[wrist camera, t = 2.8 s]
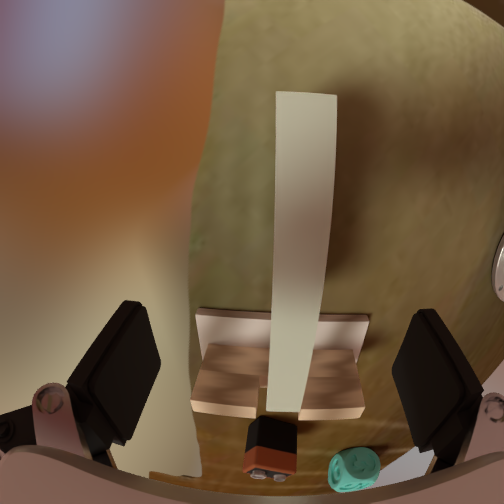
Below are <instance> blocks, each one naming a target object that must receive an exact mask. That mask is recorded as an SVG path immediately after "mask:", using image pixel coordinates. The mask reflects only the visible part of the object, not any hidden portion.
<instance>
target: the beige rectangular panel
mask: <svg viewBox="0 0 504 504" xmlns="http://www.w3.org/2000/svg"><path fill="white" fill-rule="evenodd" d="M336 133H337V95H330V94H319V93H305V92H280V91H276V173H275V223H274V258H273V287H272V312H271V334H270V354H269V372H268V389H267V405H266V411H279V412H300V409H301V405H302V401H303V396H304V392H305V387H306V382H307V378H308V373H309V368H310V363H311V358H312V353H313V347H314V342H315V336H316V331H317V325H318V319H319V313H320V306H321V300H322V293H323V286H324V279H325V271H326V263H327V255H328V246H329V237H330V227H331V217H332V205H333V192H334V177H335V159H336Z"/></svg>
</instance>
